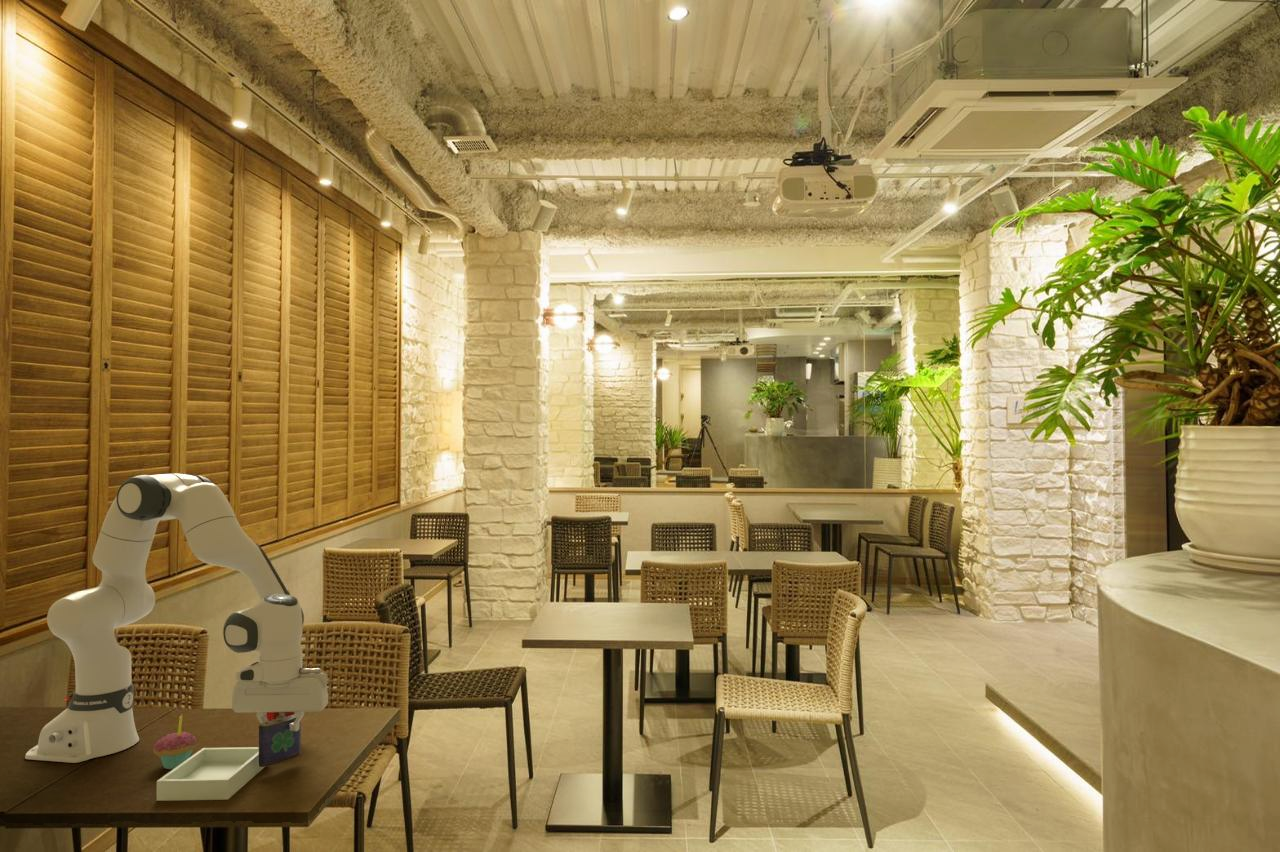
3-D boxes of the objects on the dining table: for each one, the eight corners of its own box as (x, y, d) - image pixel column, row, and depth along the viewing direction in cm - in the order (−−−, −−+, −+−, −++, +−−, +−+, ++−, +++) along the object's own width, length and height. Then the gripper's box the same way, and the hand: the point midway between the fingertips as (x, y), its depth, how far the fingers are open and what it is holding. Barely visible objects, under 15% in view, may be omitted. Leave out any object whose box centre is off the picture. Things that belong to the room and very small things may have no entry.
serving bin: (156, 800, 153) (156, 781, 154) (203, 765, 170) (203, 748, 170) (227, 799, 154) (227, 779, 154) (267, 764, 170) (267, 746, 170)
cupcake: (205, 759, 173) (205, 707, 174) (172, 775, 165) (172, 720, 166) (178, 755, 176) (178, 704, 176) (143, 770, 168) (144, 716, 168)
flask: (297, 751, 172) (298, 704, 172) (303, 755, 170) (304, 707, 170) (256, 765, 164) (256, 716, 165) (262, 769, 163) (263, 719, 163)
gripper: (332, 663, 171) (332, 724, 170) (243, 664, 171) (242, 725, 170) (321, 672, 164) (321, 735, 164) (228, 673, 164) (227, 736, 164)
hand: (280, 730), depth 167 cm, fingers closed on flask, 5 cm apart
